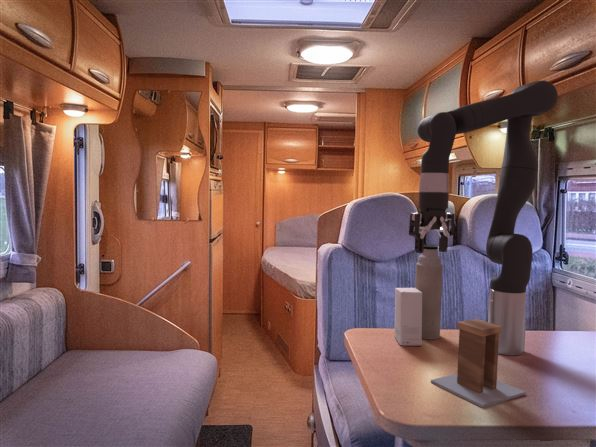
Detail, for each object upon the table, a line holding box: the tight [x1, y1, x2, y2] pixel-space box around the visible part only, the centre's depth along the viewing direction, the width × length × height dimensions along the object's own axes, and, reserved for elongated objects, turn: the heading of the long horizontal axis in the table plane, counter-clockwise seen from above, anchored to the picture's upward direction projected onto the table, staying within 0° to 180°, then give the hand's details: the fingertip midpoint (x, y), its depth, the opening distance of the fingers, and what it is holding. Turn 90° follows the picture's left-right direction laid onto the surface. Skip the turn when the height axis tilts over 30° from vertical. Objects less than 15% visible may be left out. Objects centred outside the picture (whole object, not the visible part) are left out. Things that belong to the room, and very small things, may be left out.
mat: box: [430, 373, 526, 409], centre depth 101 cm, size 14×14×1 cm
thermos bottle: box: [414, 244, 444, 340], centre depth 139 cm, size 8×8×28 cm
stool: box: [456, 318, 502, 393], centre depth 100 cm, size 6×7×14 cm
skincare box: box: [394, 287, 423, 347], centre depth 132 cm, size 8×7×16 cm
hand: (431, 252), depth 119 cm, fingers open, 8 cm apart
